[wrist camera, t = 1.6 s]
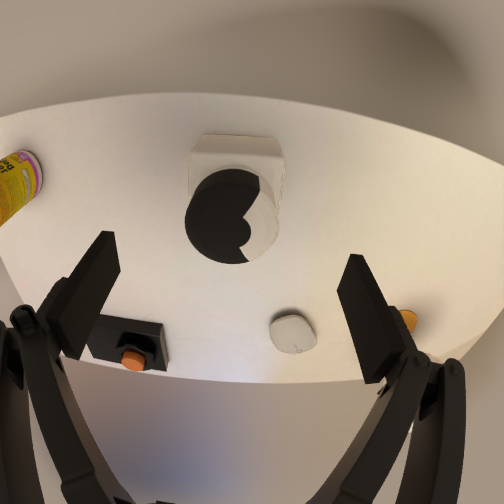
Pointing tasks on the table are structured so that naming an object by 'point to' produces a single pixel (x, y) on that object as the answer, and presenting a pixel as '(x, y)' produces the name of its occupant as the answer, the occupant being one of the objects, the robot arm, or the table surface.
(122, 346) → the machine
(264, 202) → the medicine bottle
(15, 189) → the supplement bottle
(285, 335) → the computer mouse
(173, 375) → the table surface
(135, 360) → the button
